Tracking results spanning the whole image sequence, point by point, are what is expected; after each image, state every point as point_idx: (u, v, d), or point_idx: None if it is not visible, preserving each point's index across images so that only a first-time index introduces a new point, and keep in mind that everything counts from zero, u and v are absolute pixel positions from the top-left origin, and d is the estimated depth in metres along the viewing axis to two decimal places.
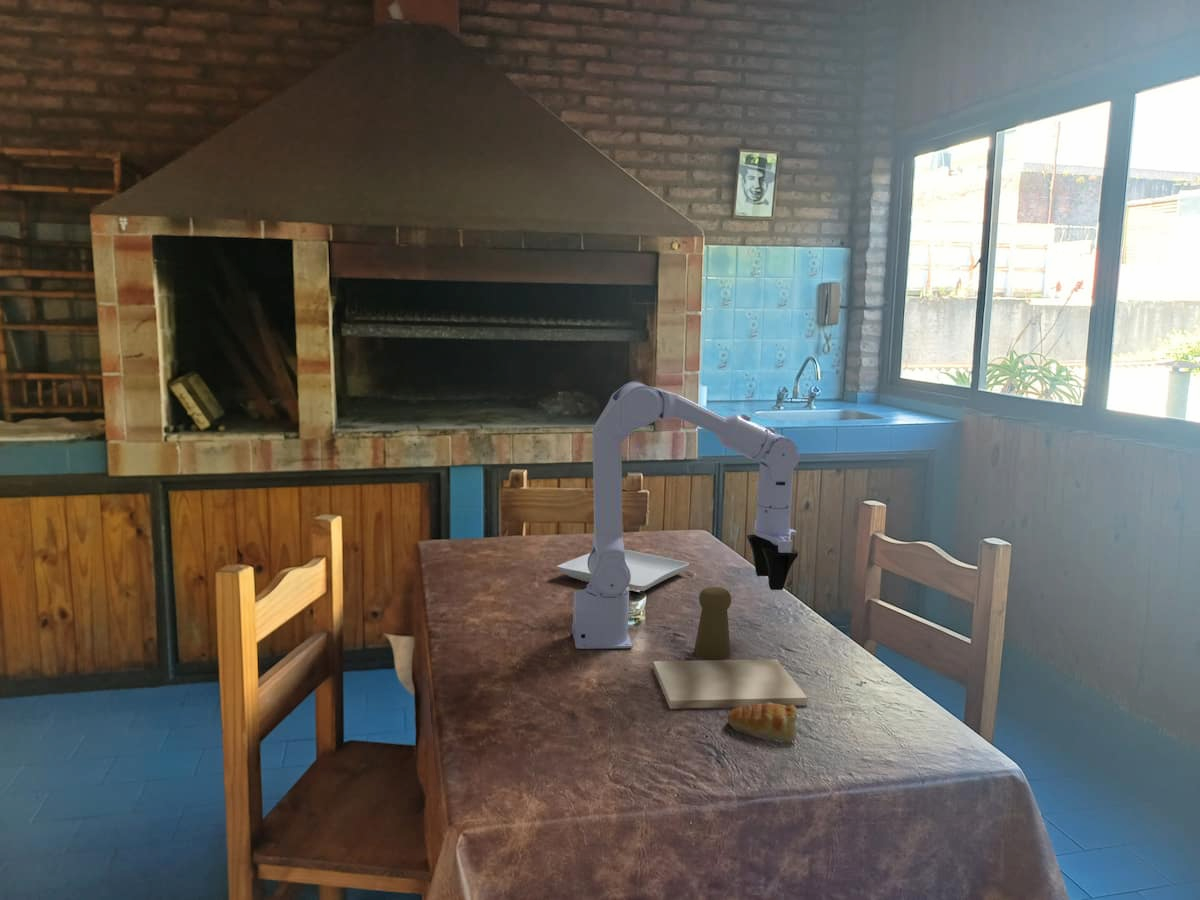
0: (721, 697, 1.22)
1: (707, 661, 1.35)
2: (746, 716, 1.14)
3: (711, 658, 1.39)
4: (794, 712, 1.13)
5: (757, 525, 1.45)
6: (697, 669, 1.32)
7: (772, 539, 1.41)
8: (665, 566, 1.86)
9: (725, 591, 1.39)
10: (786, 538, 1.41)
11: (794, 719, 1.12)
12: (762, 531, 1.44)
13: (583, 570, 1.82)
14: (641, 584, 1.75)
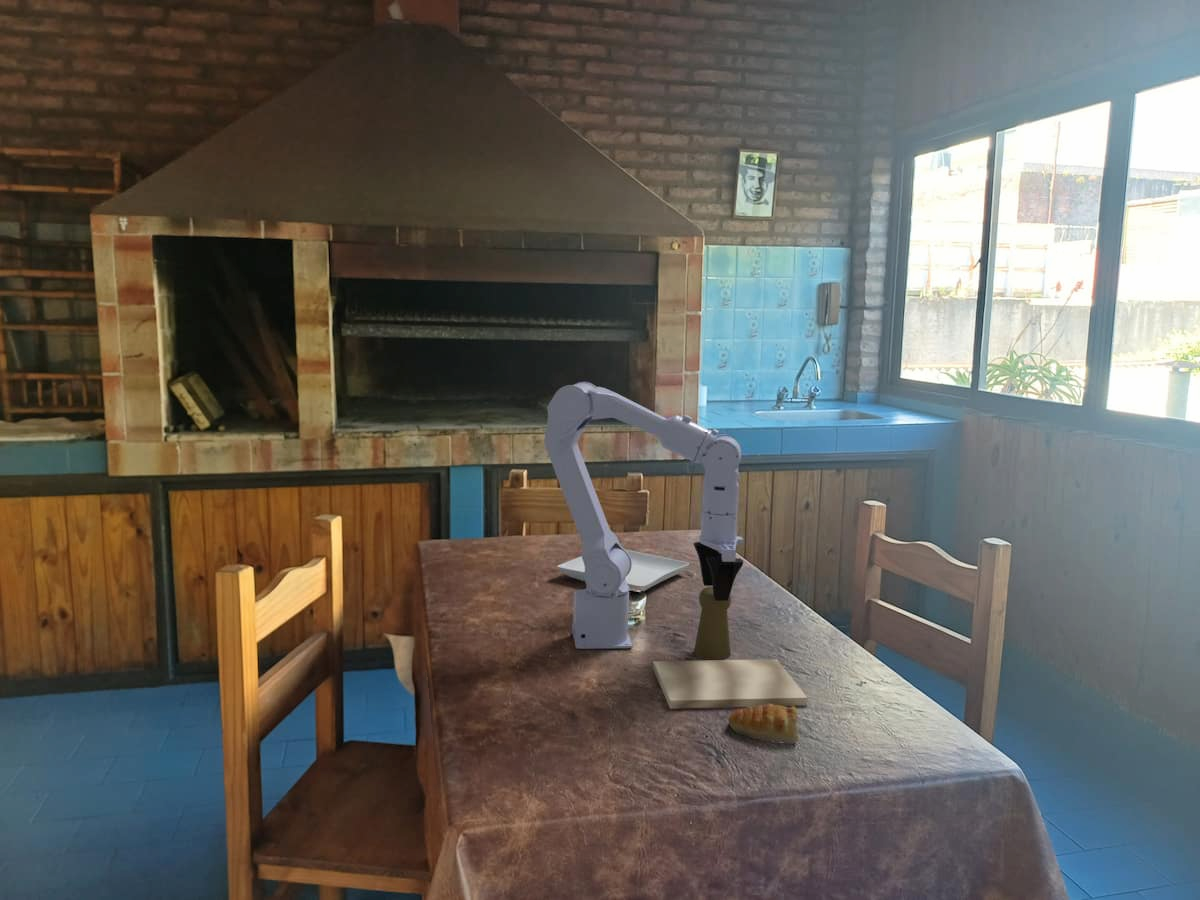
0: (721, 697, 1.22)
1: (707, 661, 1.35)
2: (747, 717, 1.13)
3: (711, 658, 1.39)
4: (795, 713, 1.13)
5: (702, 532, 1.38)
6: (697, 669, 1.32)
7: (716, 547, 1.34)
8: (665, 566, 1.86)
9: None
10: (731, 546, 1.34)
11: (795, 720, 1.12)
12: (707, 539, 1.37)
13: (583, 570, 1.82)
14: (641, 584, 1.75)
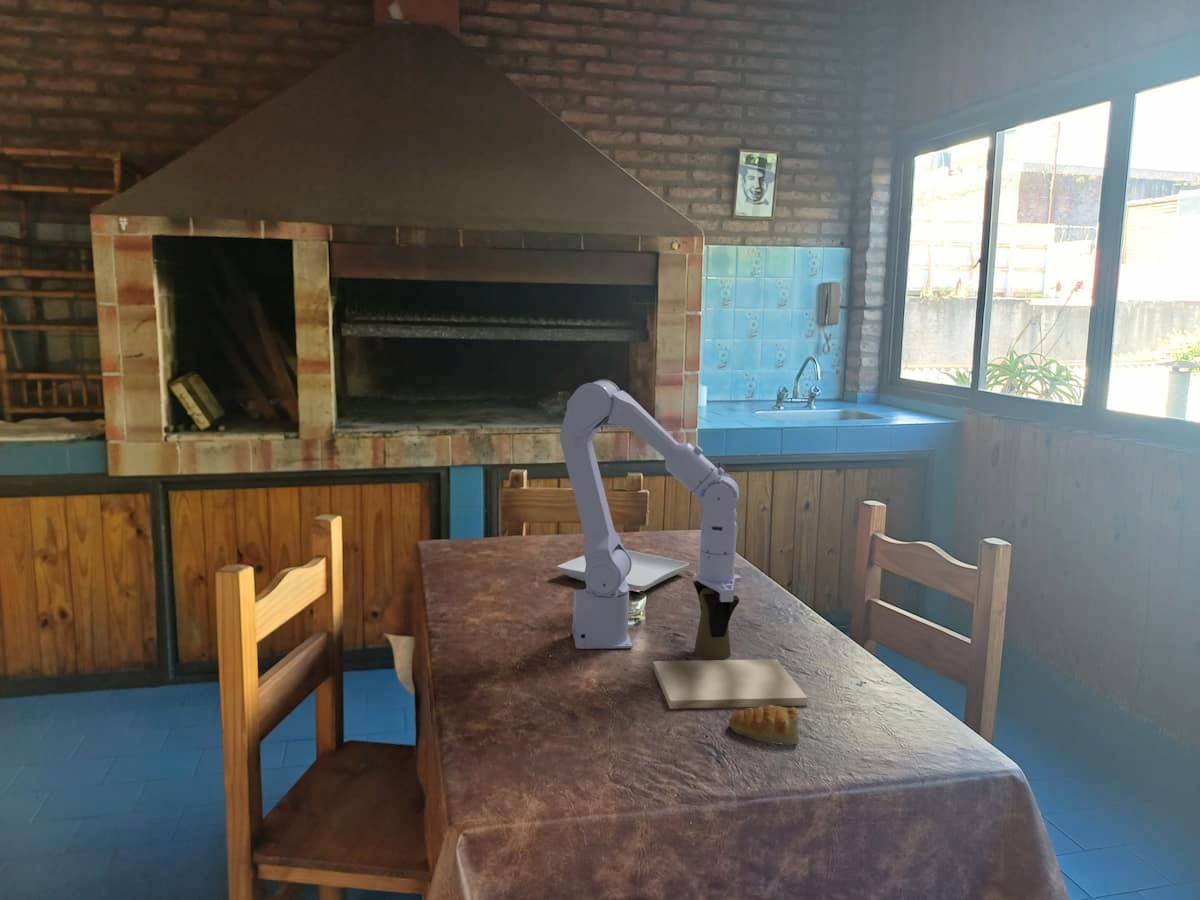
0: (721, 697, 1.22)
1: (707, 661, 1.35)
2: (748, 719, 1.13)
3: (711, 658, 1.39)
4: (796, 715, 1.12)
5: (700, 571, 1.39)
6: (697, 669, 1.32)
7: (714, 587, 1.35)
8: (665, 566, 1.86)
9: None
10: (729, 586, 1.35)
11: (796, 722, 1.12)
12: (705, 578, 1.37)
13: (583, 570, 1.82)
14: (641, 584, 1.75)
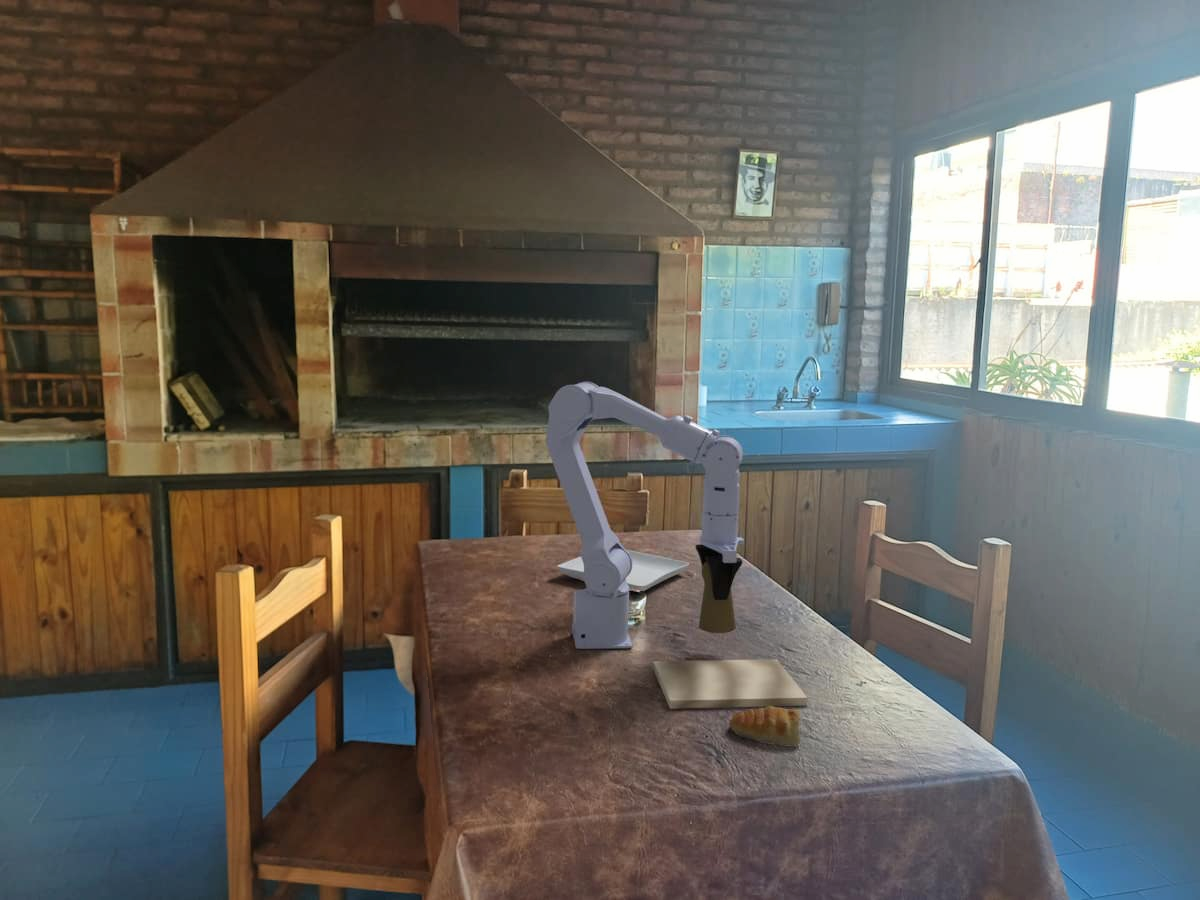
0: (721, 697, 1.22)
1: (707, 661, 1.35)
2: (749, 720, 1.12)
3: (716, 631, 1.37)
4: (797, 716, 1.12)
5: (702, 533, 1.37)
6: (697, 669, 1.32)
7: (717, 548, 1.33)
8: (665, 566, 1.86)
9: None
10: (732, 547, 1.33)
11: (798, 723, 1.11)
12: (708, 540, 1.36)
13: (583, 570, 1.82)
14: (641, 584, 1.75)
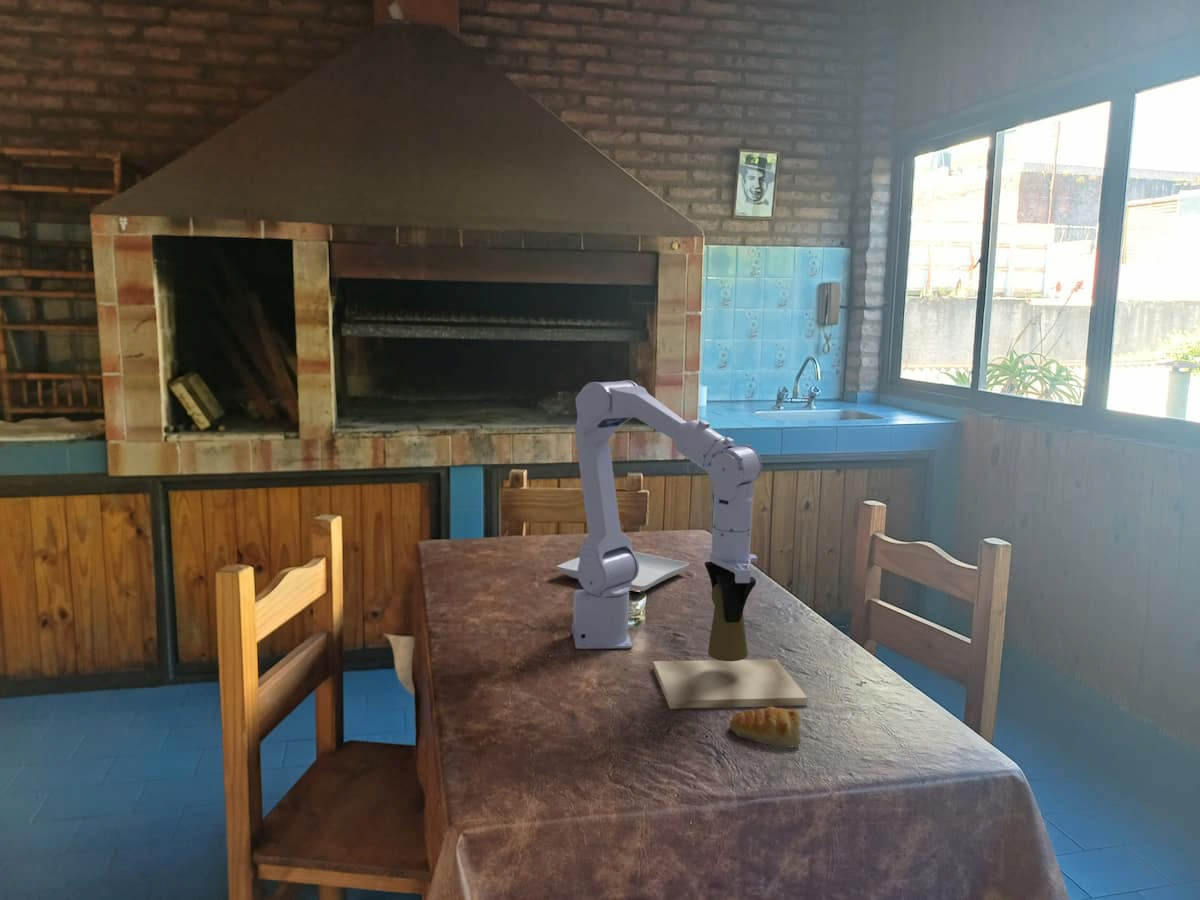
0: (721, 697, 1.22)
1: (707, 661, 1.35)
2: (749, 721, 1.12)
3: (726, 659, 1.27)
4: (798, 716, 1.12)
5: (712, 550, 1.27)
6: (697, 669, 1.32)
7: (728, 567, 1.23)
8: (665, 566, 1.86)
9: None
10: (744, 566, 1.23)
11: (798, 723, 1.11)
12: (718, 557, 1.26)
13: None
14: (641, 584, 1.75)
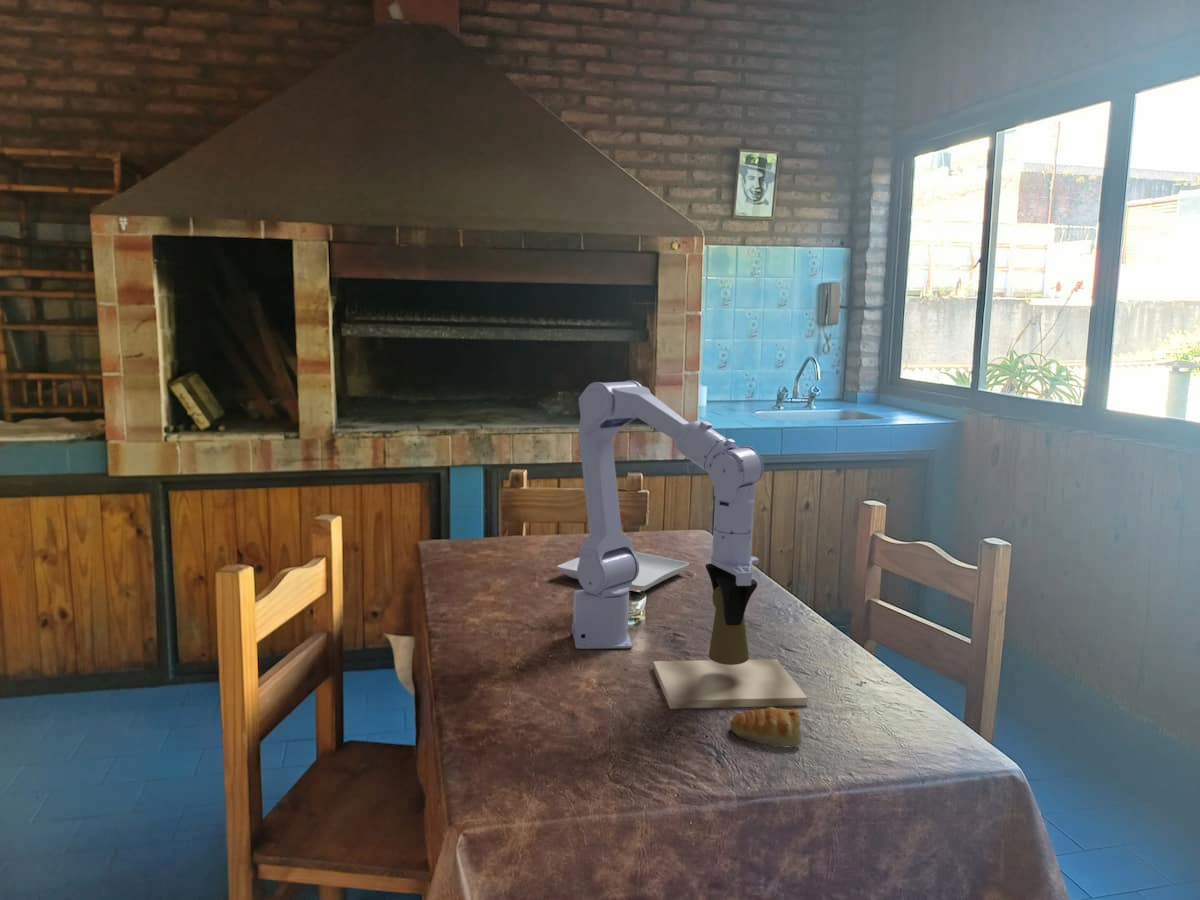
0: (721, 697, 1.22)
1: (707, 661, 1.35)
2: (750, 722, 1.12)
3: (727, 663, 1.26)
4: (798, 717, 1.12)
5: (713, 552, 1.26)
6: (697, 669, 1.32)
7: (729, 570, 1.22)
8: (665, 566, 1.86)
9: None
10: (746, 568, 1.22)
11: (799, 724, 1.11)
12: (719, 560, 1.25)
13: None
14: (641, 584, 1.75)
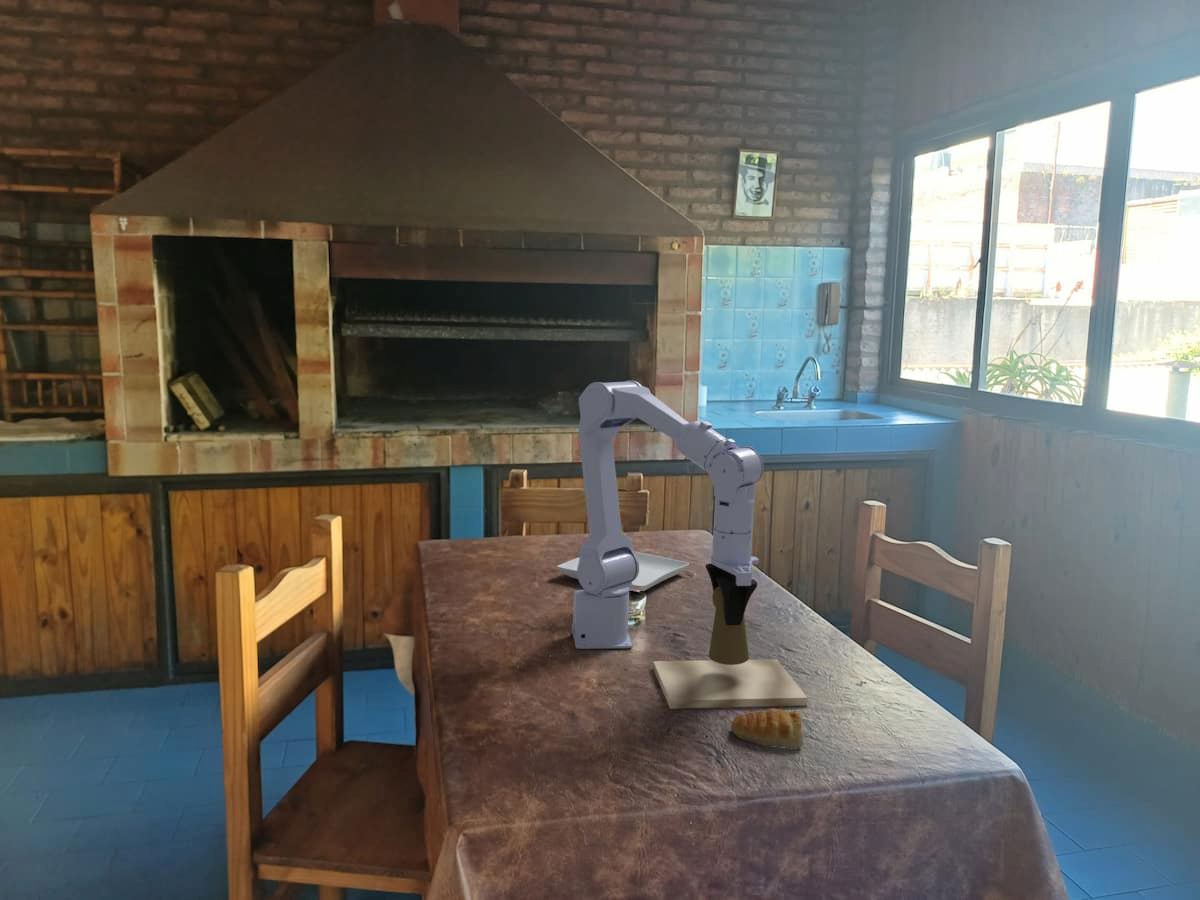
0: (721, 697, 1.22)
1: (707, 661, 1.35)
2: (751, 723, 1.12)
3: (727, 663, 1.26)
4: (800, 718, 1.11)
5: (713, 552, 1.26)
6: (697, 669, 1.32)
7: (729, 570, 1.22)
8: (665, 566, 1.86)
9: None
10: (746, 568, 1.22)
11: (800, 725, 1.11)
12: (719, 560, 1.25)
13: None
14: (641, 584, 1.75)
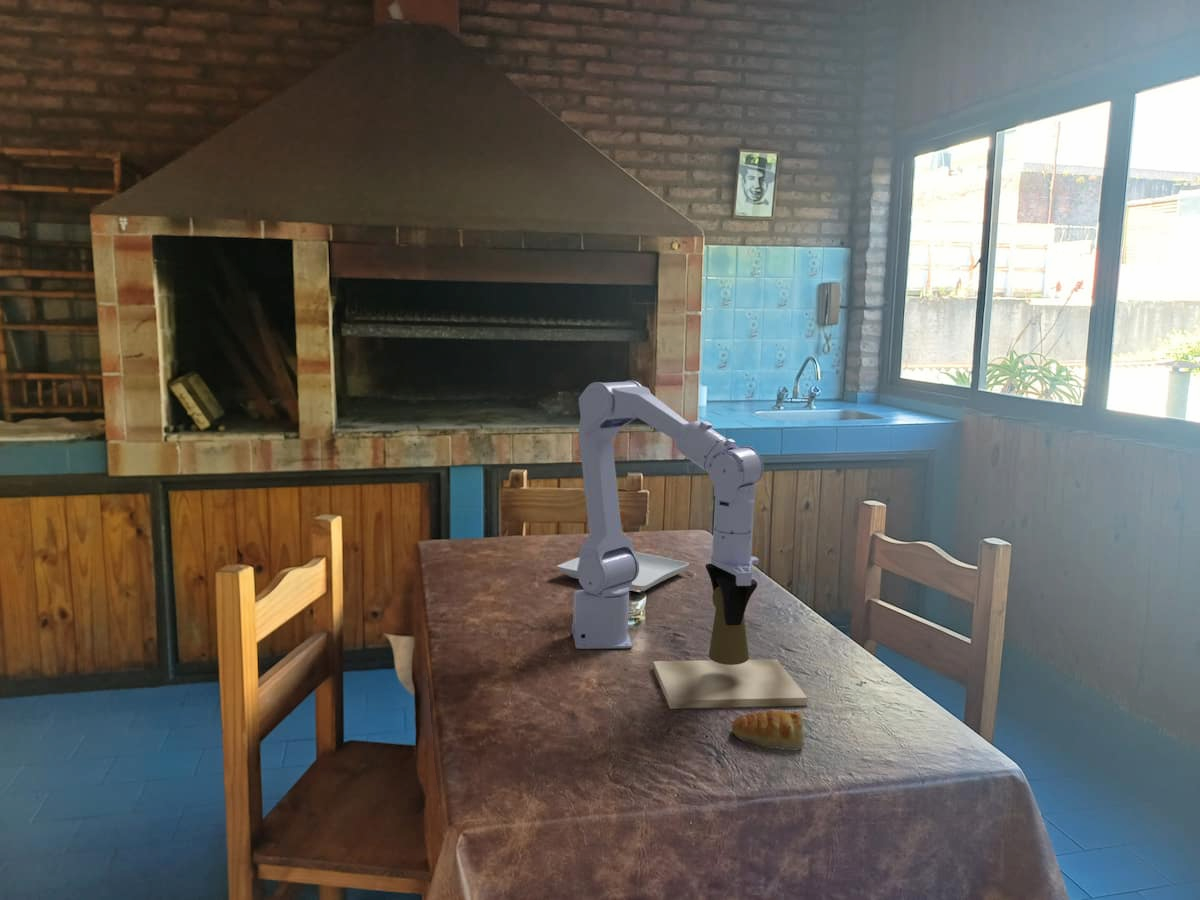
0: (721, 697, 1.22)
1: (707, 661, 1.35)
2: (752, 725, 1.11)
3: (727, 663, 1.26)
4: (800, 719, 1.11)
5: (713, 552, 1.26)
6: (697, 669, 1.32)
7: (729, 570, 1.22)
8: (665, 566, 1.86)
9: None
10: (746, 568, 1.22)
11: (801, 726, 1.10)
12: (719, 560, 1.25)
13: None
14: (641, 584, 1.75)
